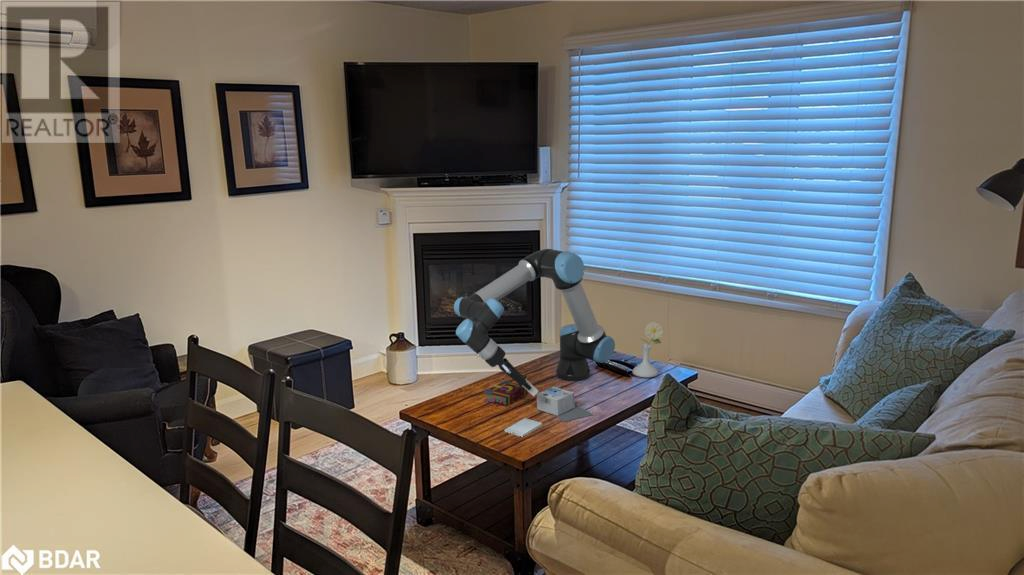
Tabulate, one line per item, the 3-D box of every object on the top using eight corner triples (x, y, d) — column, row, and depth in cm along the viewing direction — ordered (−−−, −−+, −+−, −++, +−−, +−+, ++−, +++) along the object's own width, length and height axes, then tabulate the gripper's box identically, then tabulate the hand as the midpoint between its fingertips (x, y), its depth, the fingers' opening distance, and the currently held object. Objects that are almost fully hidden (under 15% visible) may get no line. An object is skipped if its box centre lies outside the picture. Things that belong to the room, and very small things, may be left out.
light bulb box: (536, 393, 268) (553, 385, 275) (536, 409, 269) (553, 401, 277) (557, 400, 261) (575, 391, 268) (557, 416, 262) (575, 408, 270)
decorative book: (527, 395, 285) (527, 384, 284) (505, 408, 272) (505, 396, 271) (505, 390, 291) (505, 379, 290) (482, 402, 278) (482, 390, 277)
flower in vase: (629, 378, 304) (631, 323, 299) (635, 370, 314) (637, 316, 309) (659, 381, 299) (661, 326, 294) (664, 373, 309) (666, 319, 304)
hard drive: (524, 417, 260) (504, 428, 250) (542, 423, 255) (522, 434, 245) (524, 421, 260) (504, 433, 250) (542, 427, 255) (522, 438, 245)
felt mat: (569, 401, 278) (569, 400, 278) (593, 415, 264) (593, 414, 264) (542, 407, 272) (542, 407, 271) (564, 422, 258) (564, 421, 258)
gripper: (481, 354, 260) (525, 394, 266) (486, 365, 247) (532, 406, 253) (495, 340, 260) (539, 380, 266) (501, 350, 247) (546, 392, 253)
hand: (535, 393), depth 260 cm, fingers closed
